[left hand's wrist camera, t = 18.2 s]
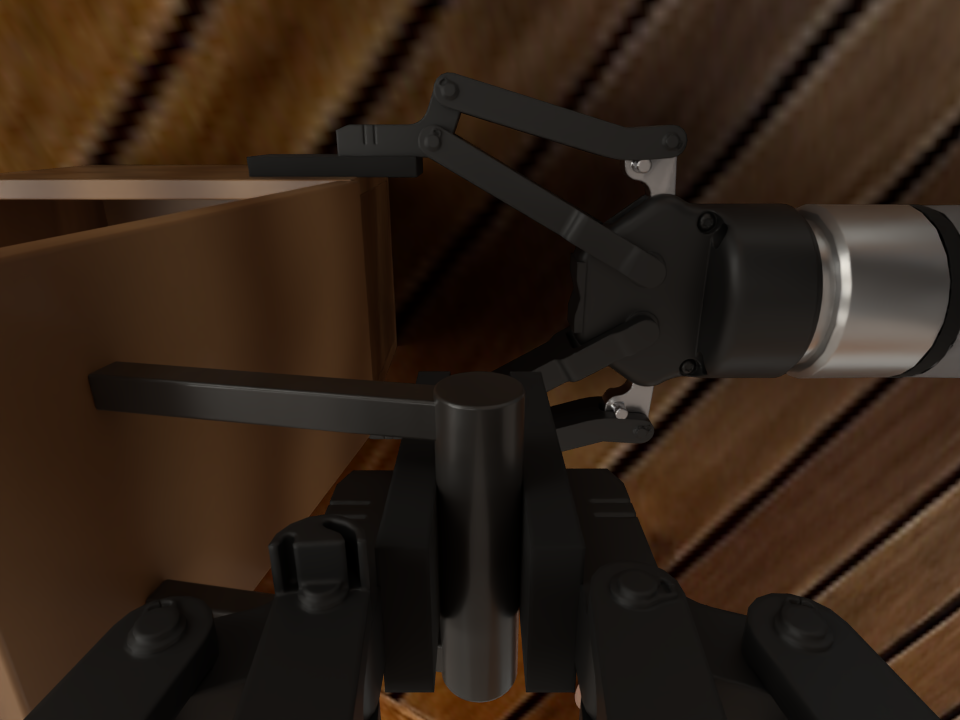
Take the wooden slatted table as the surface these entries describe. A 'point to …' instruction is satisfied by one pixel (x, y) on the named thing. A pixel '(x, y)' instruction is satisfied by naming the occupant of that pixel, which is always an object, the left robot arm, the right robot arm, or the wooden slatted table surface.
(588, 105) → the wooden slatted table surface
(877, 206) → the right robot arm
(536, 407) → the left robot arm
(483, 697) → the lid
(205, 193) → the chest
